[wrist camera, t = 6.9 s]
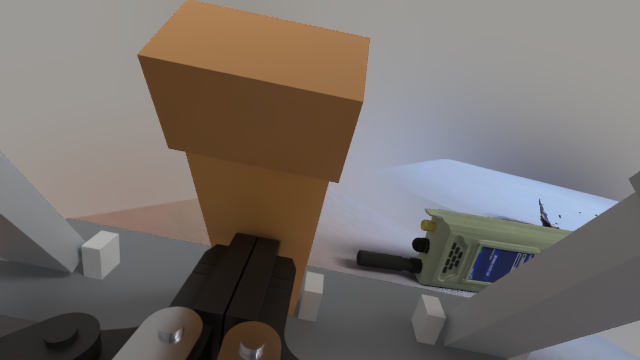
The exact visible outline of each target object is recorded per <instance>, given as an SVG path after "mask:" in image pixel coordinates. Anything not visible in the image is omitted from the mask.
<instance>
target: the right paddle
mask: <svg viewBox="0 0 640 360" xmlns="http://www.w3.org/2000/svg"><path fill="white" fill-rule="evenodd" d="M629 180H630V182H631V184H632V186H633V188H634V190H635V191H636V192H635V193H633V194H632V195H630V196H629V197H627V198H625V199H624V200H622V201H621V202H619V203H618V204H616V205H614V206H613V207H611V208H610V209H608V210H607V211H605V212H603V213H602V214H600V215H599V216H597V217H596V218H594V219H593V220H591V221H589V222H588V223H586V224H585V225H583V226H582V227H580V228H578V229H577V230H575V231H574V232H572V233H571V234H569V235H567V236H566V237H564V238H563V239H561V240H560V241H558V242H557V243H555V244H553V245H552V246H550V247H549V248H547V249H546V250H544V251H542V252H541V253H539V254H538V255H536V256H535V257H533V258H532V259H530V260H528V261H527V262H525V263H524V264H522V265H521V266H519V267H517V268H516V269H514V270H513V271H511V272H510V273H508V274H506V275H505V276H503V277H502V278H500V279H499V280H497V281H496V282H494V283H492V284H491V285H489V286H488V287H486V288H485V289H483V290H481V291H480V292H478V293H477V294H475V295H474V296H472V297H471V298H469V299H467V300H466V301H464V302H463V303H461V304H460V305H458V306H456V307H455V308H453V309H452V310H450V311H449V312H447V313H446V314H445V316H446V320H445V322H444V325H443V336H444V346H447V347H452V348H457V349H462V350H467V351H472V352H477V353H482V354H488V355H493V356H498V357H503V358H508V359H509V358H512V357H515V356H519V355H522V354H526V353H529V352H533V351H536V350H539V349H543V348H546V347H550V346H553V345H557V344H560V343H563V342H567V341H570V340H574V339H577V338H580V337H584V336H587V335H591V334H594V333H598V332H601V331H604V330H608V329H611V328H615V327H618V326H621V325H625V324H628V323H632V322H635V321H638V320H640V171H639V172H638V173H636V174H635V175H634V176H632V177H631V178H629Z"/></svg>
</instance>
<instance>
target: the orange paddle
mask: <svg viewBox="0 0 640 360" xmlns="http://www.w3.org/2000/svg"><path fill="white" fill-rule="evenodd" d="M369 42H370V38H367V37H363V36H358V35H353V34H349V33H344V32H339V31H335V30H330V29H325V28H321V27H316V26H311V25H307V24H302V23H297V22H292V21H288V20H283V19H278V18H274V17H269V16H265V15H260V14H255V13H250V12H246V11H241V10H236V9H231V8H227V7H222V6H218V5H213V4H208V3H204V2H199V1H194V0H186V2H184V3H183V5H182V6H181V7H180V8H179V9H178V10H177V11H176V12H175V13H174V14H173V16H172V17H171V18H170V19H169V20H168V21H167V22H166V23H165V24H164V26H163V27H162V28H161V29H160V30H159V31H158V32H157V33H156V34H155V36H154V37H153V38H152V39H151V40H150V41H149V42H148V43H147V44H146V45H145V47H144V48H143V49H142V50H141V51H140V52H139V53H138V54H137V55H138V58H139V61H140V64H141V67H142V70H143V73H144V76H145V79H146V82H147V85H148V88H149V91H150V94H151V97H152V100H153V103H154V106H155V109H156V112H157V115H158V118H159V121H160V124H161V127H162V130H163V133H164V136H165V139H166V142H167V145H168V148H170V149H174V150H179V151H185V152H186V156H187V159H188V163H189V167H190V170H191V174H192V177H193V181H194V185H195V188H196V192H197V196H198V199H199V203H200V206H201V210H202V214H203V217H204V221H205V224H206V228H207V232H208V235H209V239H210V242H211V246H212V247H213V246H215V245H216V244H221V245H226V246H229V244H230V243H231V241H232V239H233V237H234V236H235V234H236V233H237V232H239V233H244V234H249V235H254V236H258V239H259V237H264V238H269V239H274V240H279V241H281V242H280V249H279V254H278V256H282V257H287V258H292V259H293V261H294V264H295V267H296V269H297V270H296V275H295V280H294V285H293V290H292V295H291V300H290V305H289V311H288V315H289V316H293V315H294V311H295V307H296V303H297V300H298V296H299V292H300V288H301V285H302V281H303V277H304V273H305V269H306V266H307V262H308V258H309V254H310V251H311V247H312V243H313V239H314V236H315V232H316V228H317V224H318V221H319V217H320V213H321V209H322V206H323V202H324V198H325V194H326V191H327V187H328V183H329V181H331V182H336V183H339V179H340V176H341V173H342V170H343V166H344V163H345V160H346V156H347V153H348V150H349V147H350V143H351V140H352V137H353V134H354V130H355V127H356V124H357V121H358V117H359V114H360V111H361V107H362V104H363V99H364V89H365V80H366V70H367V61H368V51H369Z"/></svg>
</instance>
